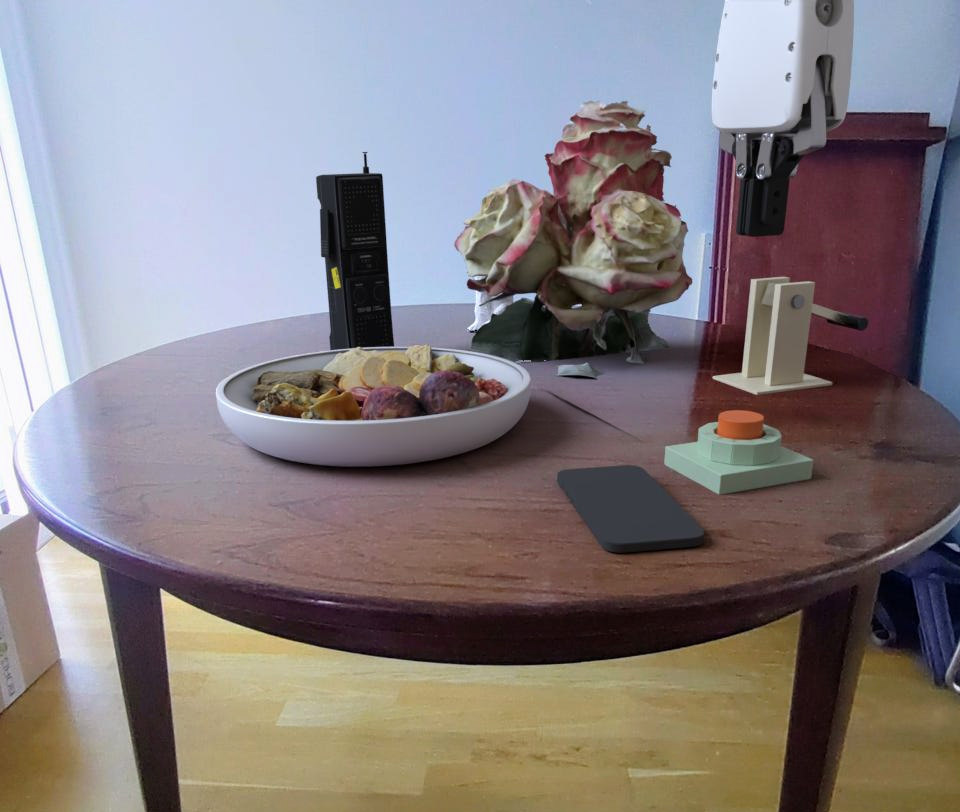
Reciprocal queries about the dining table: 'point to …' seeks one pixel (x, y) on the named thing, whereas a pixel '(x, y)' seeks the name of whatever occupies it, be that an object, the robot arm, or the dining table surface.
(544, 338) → the rose bouquet
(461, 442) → the bowl
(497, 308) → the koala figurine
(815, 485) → the dining table surface
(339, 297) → the portable radio
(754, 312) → the bracket
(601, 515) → the phone
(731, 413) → the button
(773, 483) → the button block
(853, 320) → the lever
